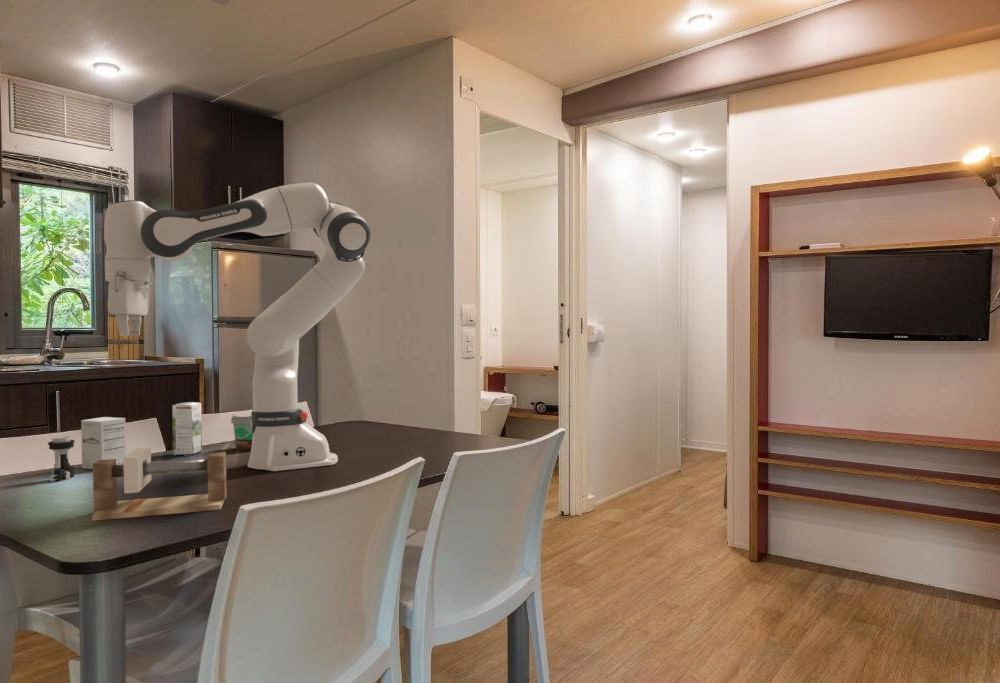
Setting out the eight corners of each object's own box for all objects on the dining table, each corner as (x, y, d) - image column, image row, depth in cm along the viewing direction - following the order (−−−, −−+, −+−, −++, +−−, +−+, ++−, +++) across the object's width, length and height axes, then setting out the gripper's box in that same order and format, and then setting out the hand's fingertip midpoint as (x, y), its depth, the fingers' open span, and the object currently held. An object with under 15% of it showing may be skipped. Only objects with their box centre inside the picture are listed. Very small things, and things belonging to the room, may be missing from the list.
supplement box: (81, 469, 170) (79, 420, 170) (107, 463, 177) (106, 416, 176) (101, 470, 167) (100, 421, 167) (127, 465, 174) (126, 417, 174)
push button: (61, 482, 154) (60, 440, 154) (39, 483, 155) (38, 440, 154) (80, 476, 161) (79, 435, 161) (59, 476, 161) (58, 435, 161)
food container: (222, 451, 192) (221, 416, 192) (234, 447, 198) (233, 414, 198) (262, 451, 190) (261, 417, 190) (272, 448, 196) (272, 414, 196)
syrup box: (182, 452, 192) (181, 402, 191) (202, 451, 191) (201, 401, 191) (172, 456, 186) (171, 404, 186) (193, 455, 186) (191, 404, 185)
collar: (151, 479, 135) (150, 447, 135) (138, 492, 124) (137, 457, 124) (138, 480, 134) (137, 448, 134) (124, 493, 124) (123, 458, 124)
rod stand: (228, 497, 139) (227, 449, 138) (222, 509, 129) (221, 458, 129) (104, 507, 132) (103, 457, 132) (89, 520, 123) (87, 467, 122)
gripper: (132, 269, 139) (134, 335, 139) (153, 277, 158) (155, 335, 159) (98, 269, 137) (100, 336, 137) (124, 277, 157) (125, 335, 157)
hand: (129, 335), depth 148 cm, fingers open, 8 cm apart
